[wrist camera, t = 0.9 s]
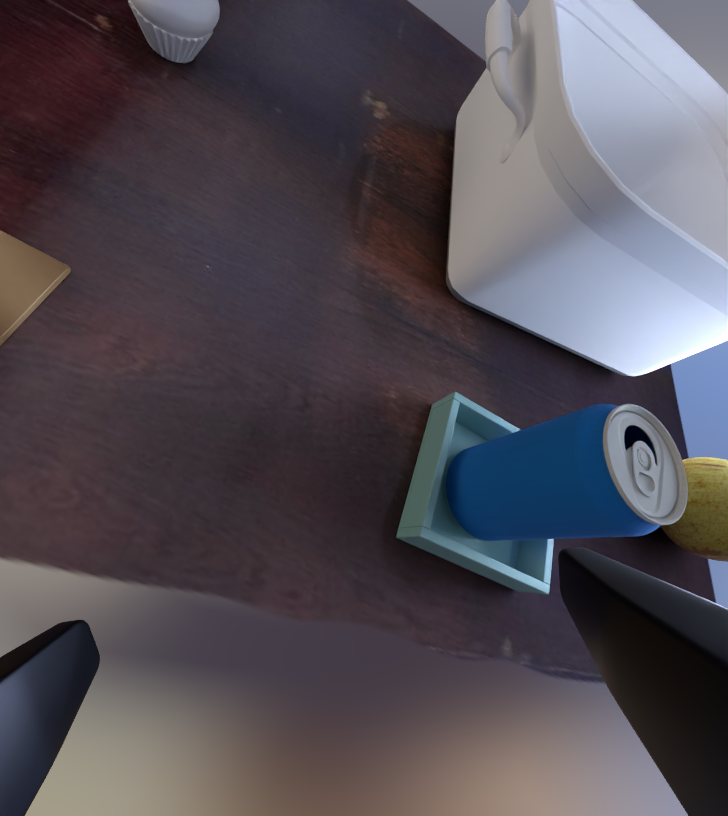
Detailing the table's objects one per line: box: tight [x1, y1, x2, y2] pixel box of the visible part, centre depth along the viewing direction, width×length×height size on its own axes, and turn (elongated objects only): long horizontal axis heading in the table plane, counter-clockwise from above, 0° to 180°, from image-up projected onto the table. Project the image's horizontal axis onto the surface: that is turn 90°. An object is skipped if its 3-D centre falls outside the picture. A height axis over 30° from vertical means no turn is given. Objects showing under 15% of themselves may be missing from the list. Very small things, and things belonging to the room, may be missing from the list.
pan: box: [396, 392, 554, 594], centre depth 27 cm, size 10×10×3 cm
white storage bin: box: [446, 0, 728, 376], centre depth 36 cm, size 34×29×15 cm
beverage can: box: [445, 404, 688, 541], centre depth 23 cm, size 6×6×12 cm
